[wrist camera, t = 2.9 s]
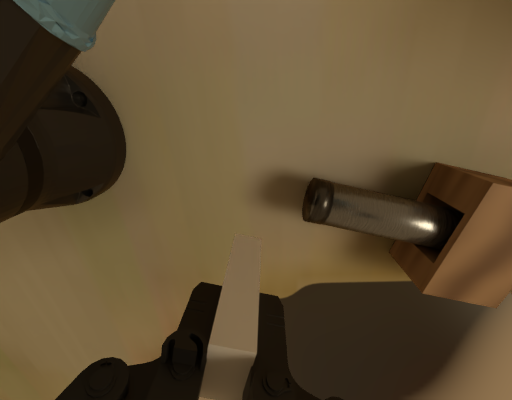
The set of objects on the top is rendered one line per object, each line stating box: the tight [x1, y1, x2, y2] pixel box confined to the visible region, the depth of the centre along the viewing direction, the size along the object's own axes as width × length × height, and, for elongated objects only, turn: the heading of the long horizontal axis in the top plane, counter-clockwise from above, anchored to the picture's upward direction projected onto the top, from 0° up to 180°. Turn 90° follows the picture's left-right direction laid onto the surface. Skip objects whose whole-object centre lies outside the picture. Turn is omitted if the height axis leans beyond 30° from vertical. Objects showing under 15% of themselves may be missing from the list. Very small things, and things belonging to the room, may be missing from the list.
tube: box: [302, 178, 465, 250], centre depth 25 cm, size 22×4×4 cm, turn 78°
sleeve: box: [389, 162, 512, 308], centre depth 25 cm, size 8×12×7 cm, turn 168°
